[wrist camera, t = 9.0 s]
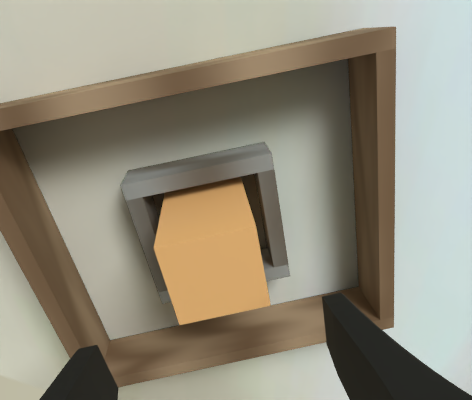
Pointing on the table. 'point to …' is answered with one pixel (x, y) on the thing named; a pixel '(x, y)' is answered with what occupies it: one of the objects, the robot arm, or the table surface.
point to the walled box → (202, 172)
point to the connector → (210, 251)
